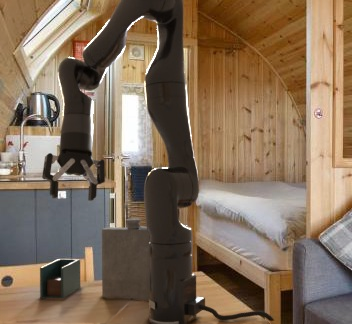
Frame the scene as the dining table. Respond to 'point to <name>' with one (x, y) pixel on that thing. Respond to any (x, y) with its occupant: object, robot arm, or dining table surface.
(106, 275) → the hip flask
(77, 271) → the teal open box
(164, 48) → the robot arm
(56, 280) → the walnut block
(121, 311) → the dining table surface
